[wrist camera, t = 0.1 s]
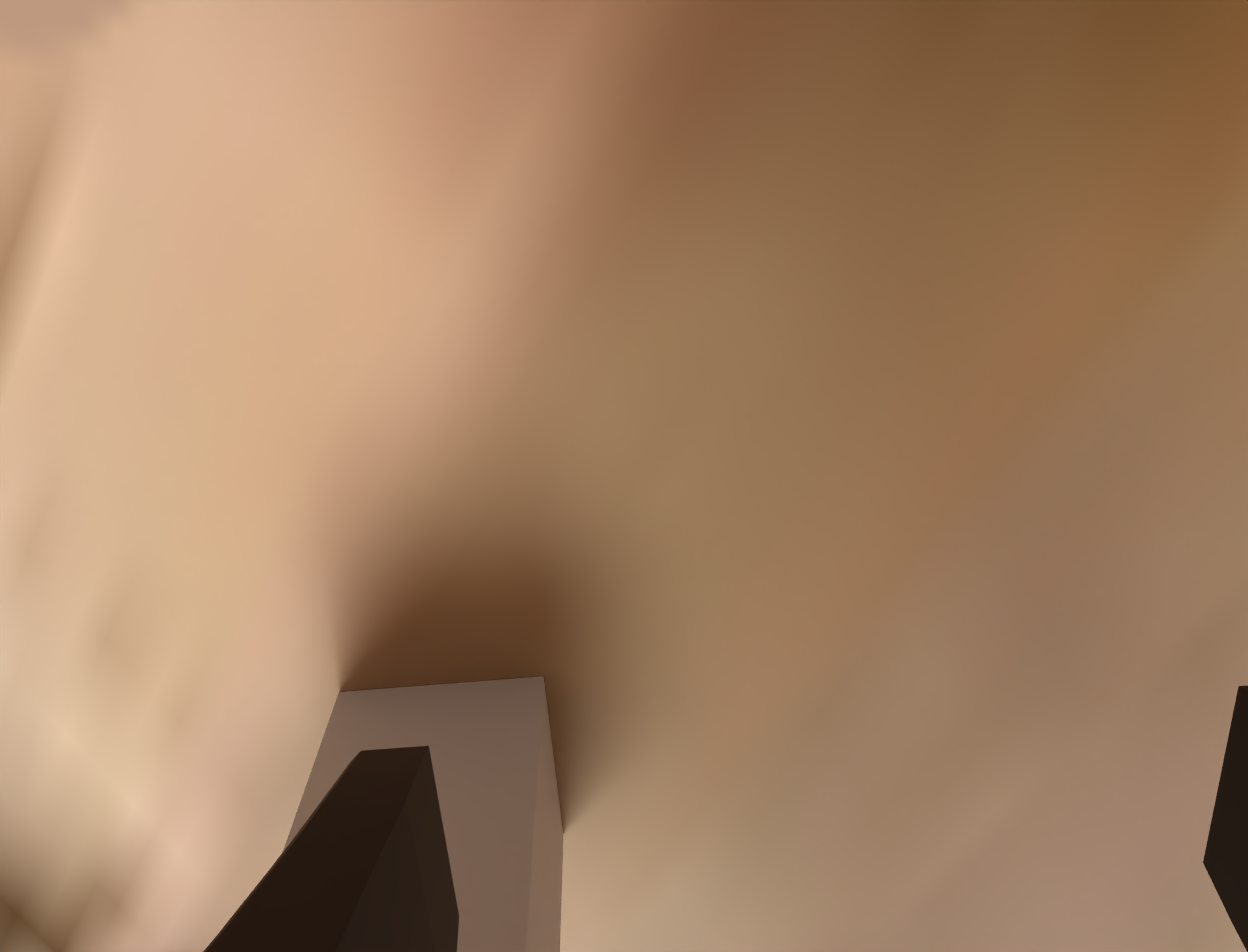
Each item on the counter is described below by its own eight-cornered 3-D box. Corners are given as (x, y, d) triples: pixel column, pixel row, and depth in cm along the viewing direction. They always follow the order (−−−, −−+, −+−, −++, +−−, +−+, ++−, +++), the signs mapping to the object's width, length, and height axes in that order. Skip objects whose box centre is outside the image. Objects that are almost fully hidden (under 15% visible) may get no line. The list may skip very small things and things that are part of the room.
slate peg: (563, 834, 23) (551, 1234, 15) (373, 848, 23) (272, 1255, 16) (543, 676, 21) (519, 1042, 14) (338, 692, 21) (207, 1066, 14)
